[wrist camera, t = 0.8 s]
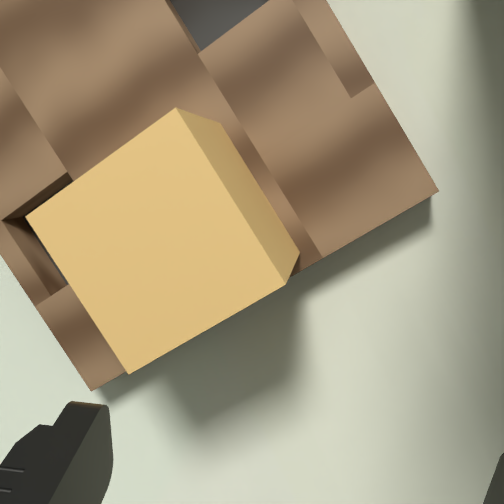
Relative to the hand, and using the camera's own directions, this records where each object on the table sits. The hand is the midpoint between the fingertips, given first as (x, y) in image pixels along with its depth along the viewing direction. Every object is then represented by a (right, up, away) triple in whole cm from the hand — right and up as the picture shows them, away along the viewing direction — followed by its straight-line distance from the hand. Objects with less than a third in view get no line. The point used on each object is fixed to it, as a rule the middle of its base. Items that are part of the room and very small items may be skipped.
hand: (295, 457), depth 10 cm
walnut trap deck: (-8, +13, +22) cm, 27 cm away
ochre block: (-4, +6, +20) cm, 21 cm away
